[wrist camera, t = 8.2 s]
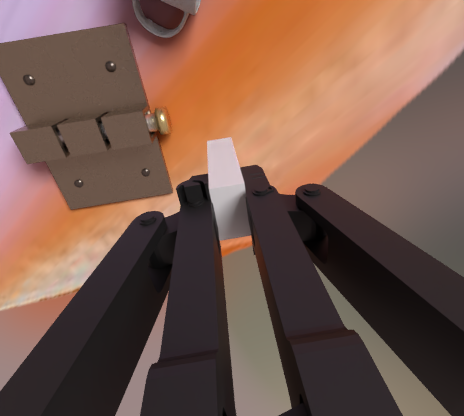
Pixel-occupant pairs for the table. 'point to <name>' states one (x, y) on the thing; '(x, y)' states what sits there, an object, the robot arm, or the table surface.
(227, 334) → the robot arm
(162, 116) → the pin
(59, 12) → the table surface
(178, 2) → the ceramic mug
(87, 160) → the hinge
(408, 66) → the table surface
